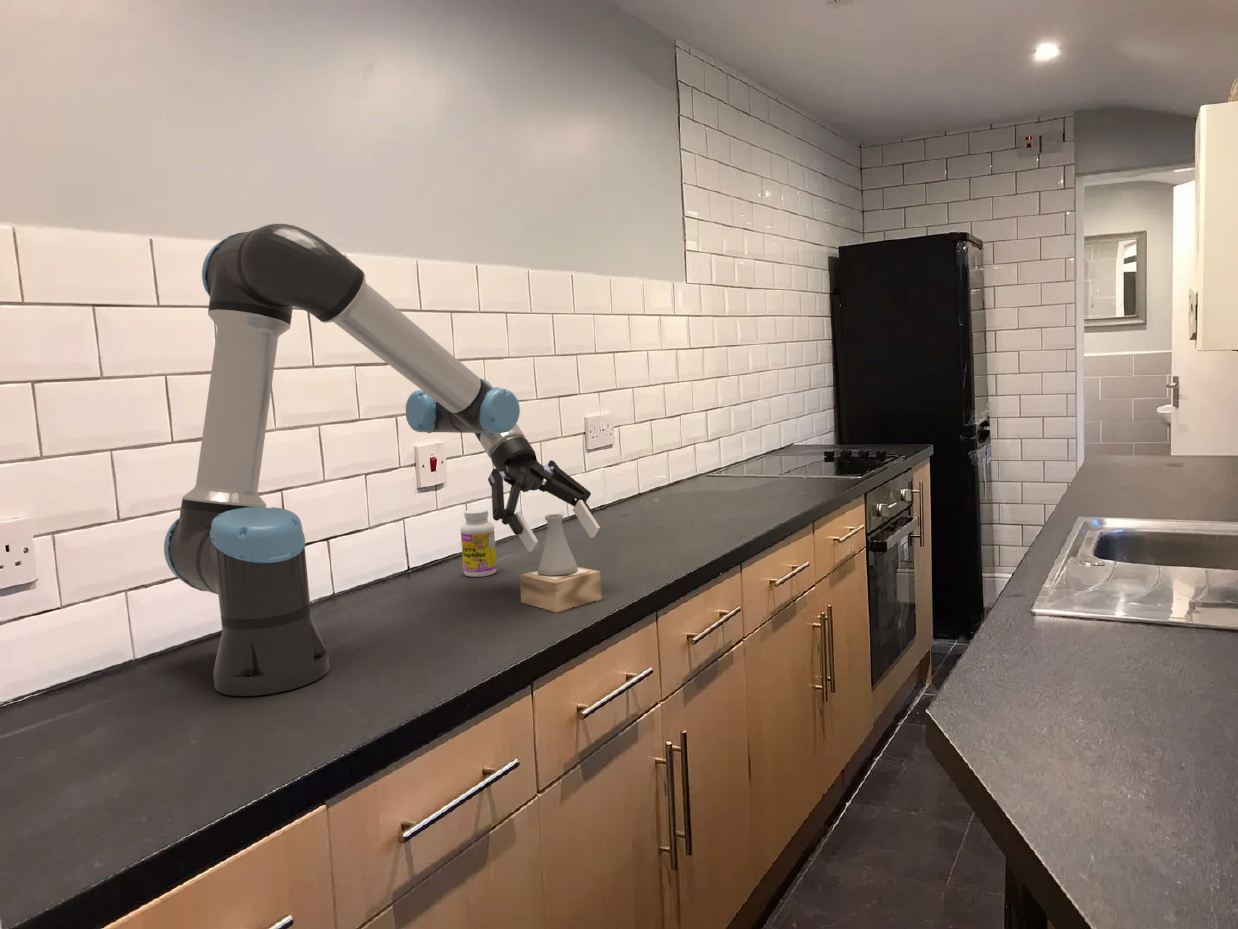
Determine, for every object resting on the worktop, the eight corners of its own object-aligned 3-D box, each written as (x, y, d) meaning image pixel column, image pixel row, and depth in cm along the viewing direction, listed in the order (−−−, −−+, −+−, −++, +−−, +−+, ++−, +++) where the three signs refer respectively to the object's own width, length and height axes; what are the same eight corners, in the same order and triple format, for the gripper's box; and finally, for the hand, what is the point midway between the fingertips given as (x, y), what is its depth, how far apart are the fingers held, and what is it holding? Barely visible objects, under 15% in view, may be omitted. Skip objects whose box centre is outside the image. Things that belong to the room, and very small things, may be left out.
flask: (570, 577, 154) (566, 519, 153) (530, 576, 156) (526, 519, 155) (584, 567, 161) (580, 511, 160) (546, 566, 163) (542, 511, 162)
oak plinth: (556, 612, 152) (554, 582, 152) (521, 602, 160) (519, 573, 159) (601, 599, 159) (600, 570, 158) (565, 590, 166) (564, 562, 166)
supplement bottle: (458, 577, 181) (452, 513, 180) (472, 569, 188) (468, 508, 186) (488, 578, 179) (483, 513, 178) (502, 570, 186) (498, 507, 184)
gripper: (554, 455, 176) (610, 540, 167) (442, 471, 160) (497, 566, 150) (570, 428, 172) (628, 514, 162) (456, 442, 155) (513, 538, 146)
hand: (565, 539), depth 156 cm, fingers open, 13 cm apart
